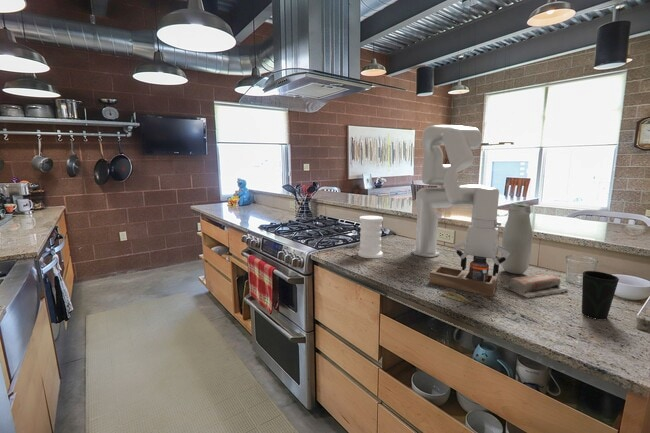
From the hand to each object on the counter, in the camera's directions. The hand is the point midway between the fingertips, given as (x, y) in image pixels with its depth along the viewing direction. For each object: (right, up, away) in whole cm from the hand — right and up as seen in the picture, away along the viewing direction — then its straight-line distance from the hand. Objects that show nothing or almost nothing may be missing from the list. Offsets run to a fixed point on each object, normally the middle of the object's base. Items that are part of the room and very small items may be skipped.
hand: (478, 272), depth 110 cm
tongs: (-9, -8, -9) cm, 15 cm away
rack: (-4, -5, +3) cm, 7 cm away
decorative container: (-32, +1, +40) cm, 51 cm away
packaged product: (+19, -7, 0) cm, 20 cm away
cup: (+24, -9, -19) cm, 32 cm away
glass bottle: (+22, -3, +16) cm, 27 cm away
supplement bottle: (0, -6, +1) cm, 6 cm away
